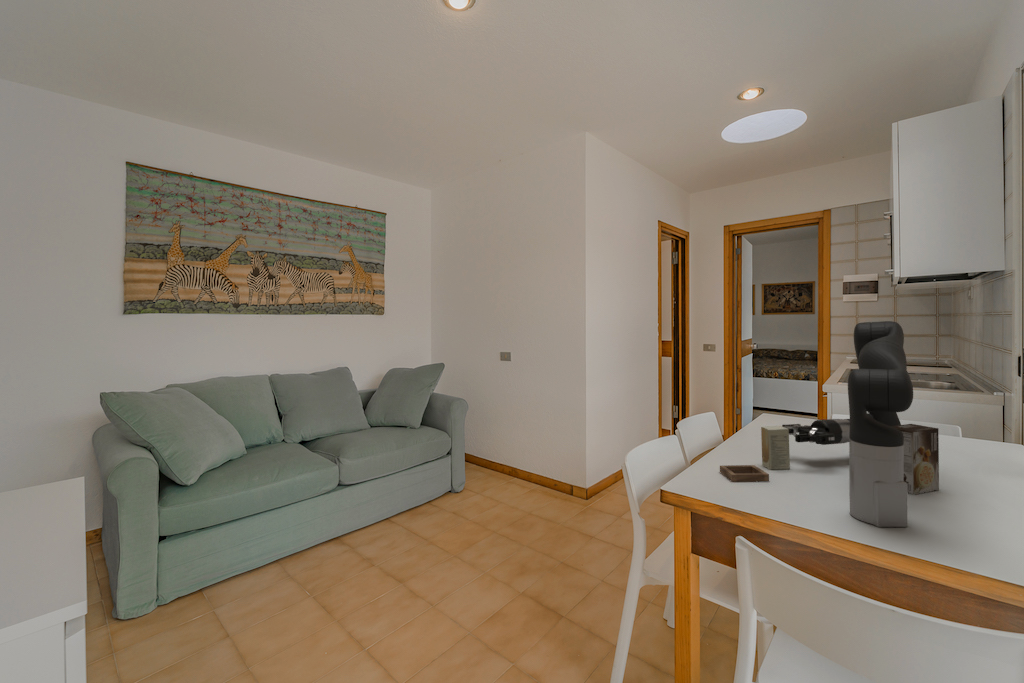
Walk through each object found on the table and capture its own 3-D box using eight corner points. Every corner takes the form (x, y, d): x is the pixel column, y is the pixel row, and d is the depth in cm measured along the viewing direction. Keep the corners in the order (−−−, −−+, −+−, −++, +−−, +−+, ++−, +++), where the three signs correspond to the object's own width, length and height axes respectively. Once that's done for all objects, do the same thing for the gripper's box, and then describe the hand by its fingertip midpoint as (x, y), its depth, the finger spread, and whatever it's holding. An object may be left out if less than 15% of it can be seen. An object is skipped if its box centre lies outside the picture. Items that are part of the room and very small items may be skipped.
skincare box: (782, 464, 133) (781, 425, 133) (790, 469, 129) (790, 428, 129) (760, 465, 134) (760, 425, 133) (768, 469, 129) (768, 429, 129)
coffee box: (910, 482, 116) (911, 423, 116) (939, 490, 110) (940, 428, 110) (885, 486, 114) (885, 426, 113) (914, 495, 108) (914, 431, 107)
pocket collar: (769, 481, 120) (769, 474, 120) (732, 481, 120) (732, 474, 120) (754, 471, 128) (754, 465, 128) (719, 472, 128) (719, 465, 128)
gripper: (813, 414, 141) (768, 417, 139) (853, 424, 127) (803, 428, 125) (814, 437, 141) (768, 441, 139) (854, 449, 127) (804, 453, 125)
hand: (785, 435), depth 132 cm, fingers open, 8 cm apart
